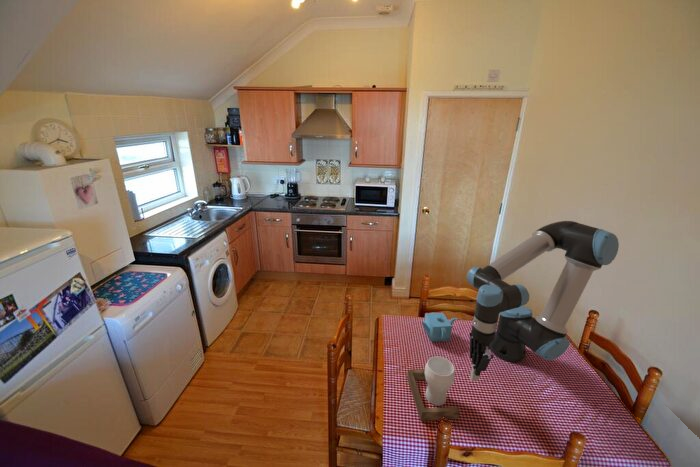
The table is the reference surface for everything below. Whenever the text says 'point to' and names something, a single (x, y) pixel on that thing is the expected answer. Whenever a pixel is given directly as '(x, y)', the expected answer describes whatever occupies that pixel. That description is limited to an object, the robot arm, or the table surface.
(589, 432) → the table surface
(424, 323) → the teapot
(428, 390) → the cup
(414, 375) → the wooden u-shaped bracket
